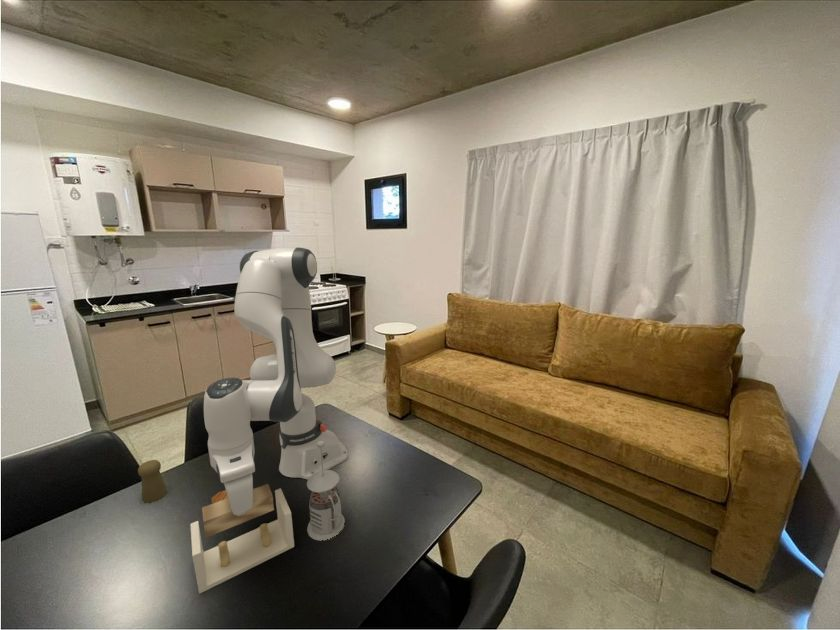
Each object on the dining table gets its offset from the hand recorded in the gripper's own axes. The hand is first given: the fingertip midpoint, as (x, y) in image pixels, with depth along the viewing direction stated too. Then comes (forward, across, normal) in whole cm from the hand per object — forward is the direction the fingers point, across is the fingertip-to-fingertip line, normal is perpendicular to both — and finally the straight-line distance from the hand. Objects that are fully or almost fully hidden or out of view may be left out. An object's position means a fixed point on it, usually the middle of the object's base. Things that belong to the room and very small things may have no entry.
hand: (238, 504), depth 79 cm
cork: (+14, -37, -19) cm, 43 cm away
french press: (+14, +3, +19) cm, 24 cm away
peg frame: (+14, -1, 0) cm, 14 cm away
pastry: (+14, -21, -1) cm, 25 cm away
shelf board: (+3, 0, 0) cm, 3 cm away
